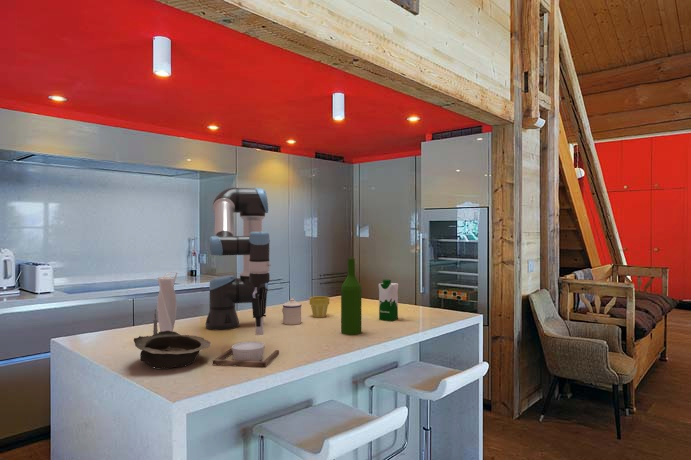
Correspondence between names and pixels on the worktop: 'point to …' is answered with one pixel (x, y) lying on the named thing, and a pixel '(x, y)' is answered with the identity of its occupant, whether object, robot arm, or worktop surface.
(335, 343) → the worktop surface
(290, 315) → the teacup with lid
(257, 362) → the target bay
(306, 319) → the worktop surface
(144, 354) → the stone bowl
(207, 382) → the worktop surface
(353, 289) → the wine bottle
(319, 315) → the plant pot
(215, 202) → the robot arm
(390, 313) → the milk carton
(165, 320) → the skyscraper
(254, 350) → the ramekin
